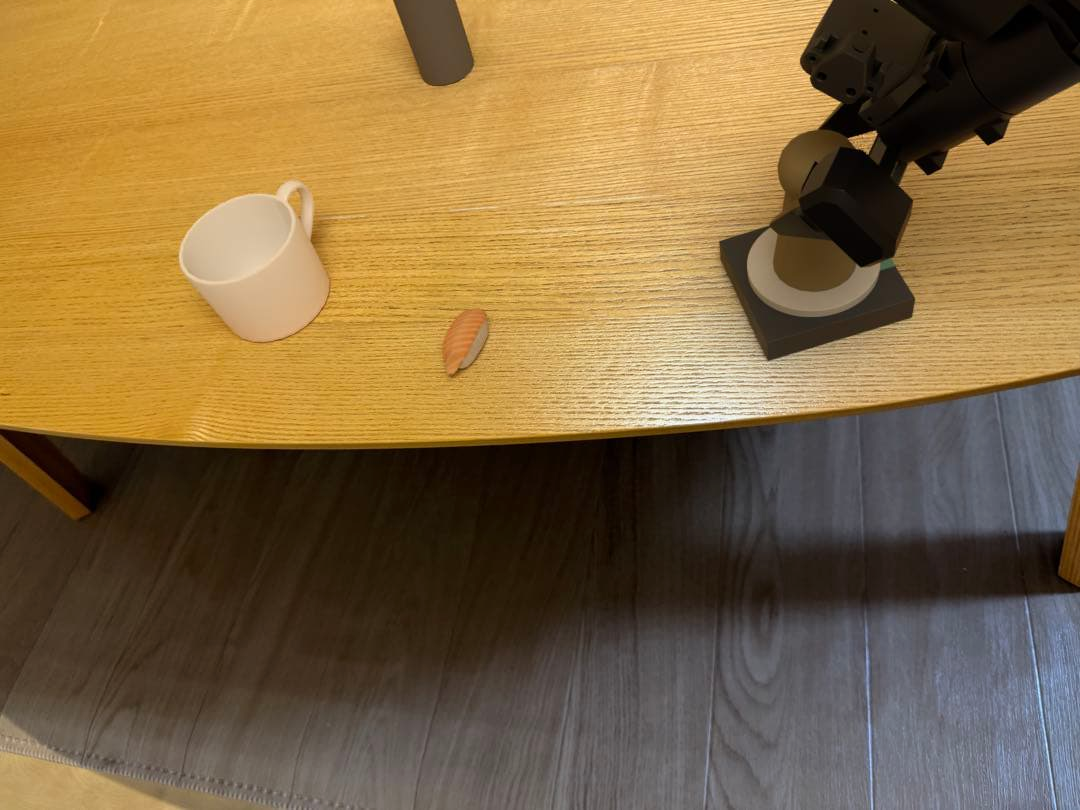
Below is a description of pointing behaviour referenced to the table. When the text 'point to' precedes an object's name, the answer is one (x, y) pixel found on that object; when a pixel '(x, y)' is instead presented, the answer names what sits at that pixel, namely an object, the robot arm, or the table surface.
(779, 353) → the scale
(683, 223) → the table surface
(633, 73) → the table surface
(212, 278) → the mug
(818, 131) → the brown chess pawn
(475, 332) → the sushi
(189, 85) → the table surface
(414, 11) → the bottle
